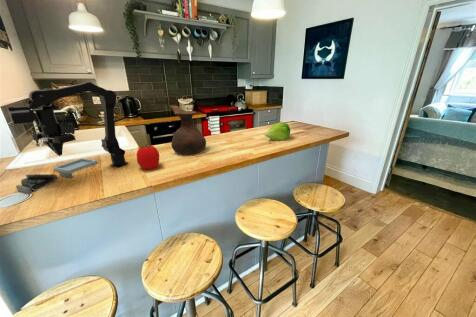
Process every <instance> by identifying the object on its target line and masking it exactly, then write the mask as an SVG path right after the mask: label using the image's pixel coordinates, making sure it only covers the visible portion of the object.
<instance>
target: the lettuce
mask: <svg viewBox="0 0 476 317" xmlns="http://www.w3.org/2000/svg"><path fill="white" fill-rule="evenodd" d="M264 136H265V137H266V138H268V139H270V140H272V141H279V142H282V141H286V140H287V139H289V137H290V136H291V127H290V125H289V124H288V123H287V122H283V121H282V122H281V121H280V122H276V123H274V124H273V125H271V126H270V127H269V128H268V130H267V131H266V132H265V133H264Z"/></svg>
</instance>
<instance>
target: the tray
mask: <svg viewBox="0 0 476 317" xmlns="http://www.w3.org/2000/svg"><path fill="white" fill-rule="evenodd" d="M98 164H99V163H98V160H96V159H90V158H84V157H81V158H79V159H75V160H72V161H69V162H67V163H64V164H61V165H57V166H55V167H54V166H53V171H54V172H57V173H59V171H66V172H70V173H72V174H73V173H75V172H78V171H81V170H84V169H86V168H89V167H92V166H95V165H98Z"/></svg>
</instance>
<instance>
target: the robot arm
mask: <svg viewBox="0 0 476 317" xmlns="http://www.w3.org/2000/svg"><path fill="white" fill-rule="evenodd" d="M87 92H88V93H90V94H93V95H94V96H97V97H98V98H99V102H100V103H101V106H102V109H103V120H104V122H103V123H104V132H105V133H104V134H105V136H104V138H103V139H100V140H101V147H102V149H103V150H104V151H105V152H106V153H108V154H110V159H111V164H110V165H109V166H111V167H116V168H120V167H123V166H125V165H128V164H129V161H126V158H125V155H126V150H124V149H122V148H121V147H120V143H119V141H118V138H117V136H116V124H115V123H116V121H115V107H116V104H117V97H118V96H117V94H116V92H115V91H113V90H110V89H106V88H103V87H100V86H99V85H96V84H95V83H93V82H90V81H89V82H88V81H86V82H82V83H77V84H73V85H68V86H65V87H64V86H63V87H60V88H54V89H52V88H51V89H50V88H49V89H34V90H32V91H30V92H29V93H28V98H29V100H28V102H27V103H26V105H25V106H8V107H7V110H8V113H9V117H10V120H11V122H12V124H13V126H17V125H27V124H34V122H35V121H37V120H38V123H39V124H37V127H38V128H41V131H42V132H35V133H33V134H32V138H33V140H34V141H40V140H42V139H43V140H44V141H42V144H44V145H45V146H47V147H48V148H49V149H50V150H51V151H53V152H54V153H55V155H57V156H59V157H60V156H62V155H63V146H64V144H65V143H68V142H72V141H76V136H75V134H76V133H75V132H76V131H75V130H76V127H74V126H66V124H62V123H61V122H58V120H57V117H56V113H55V111H54V110H60V108H59V107H58V106H57V105H54V102H56V101H58V100H60V99H62V98H66V97H70V96H71V97H72V96H75V95H78V94H83V93H87ZM35 114H36V115H35Z"/></svg>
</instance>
